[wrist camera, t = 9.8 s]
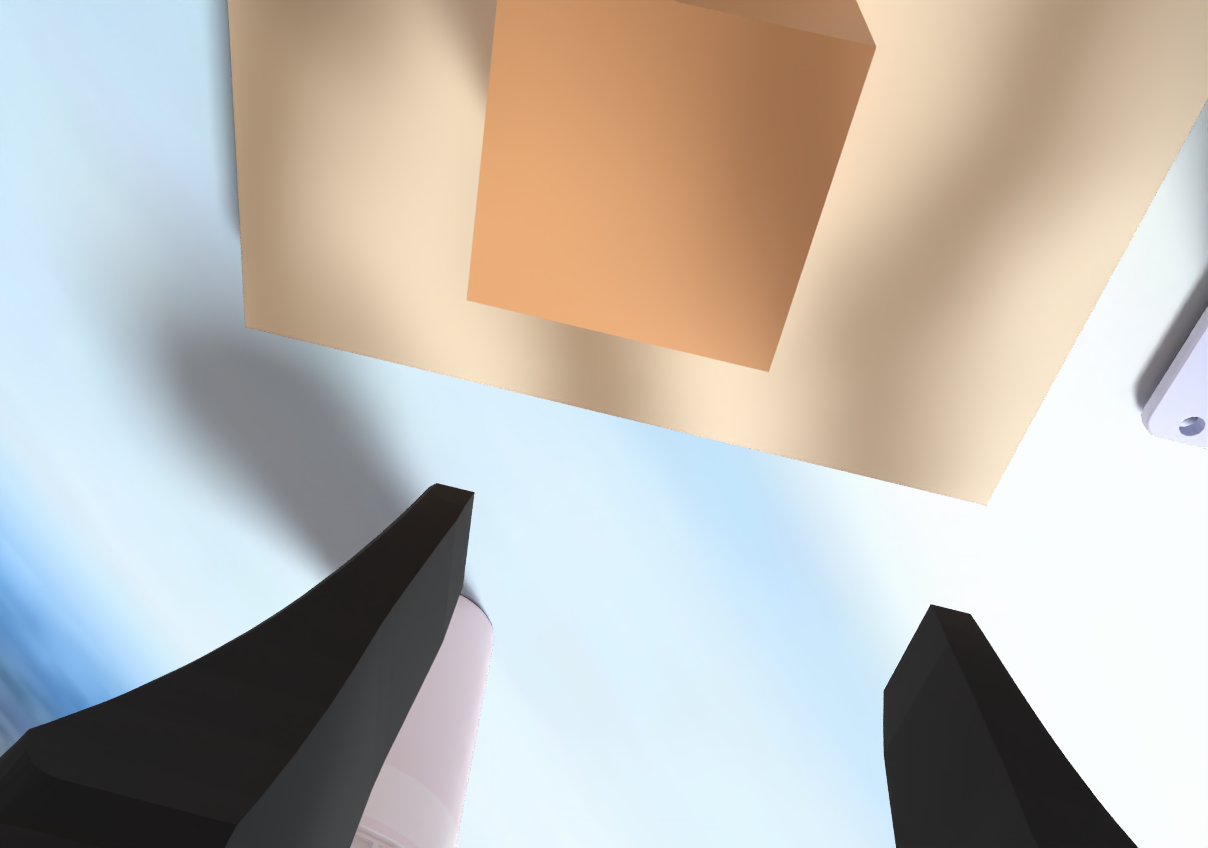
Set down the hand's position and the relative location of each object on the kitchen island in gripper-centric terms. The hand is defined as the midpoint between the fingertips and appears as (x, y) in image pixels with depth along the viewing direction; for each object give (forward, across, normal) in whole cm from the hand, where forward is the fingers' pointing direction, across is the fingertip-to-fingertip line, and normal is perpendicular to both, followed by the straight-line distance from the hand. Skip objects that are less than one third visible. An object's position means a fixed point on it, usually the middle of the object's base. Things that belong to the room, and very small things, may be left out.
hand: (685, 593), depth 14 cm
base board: (+9, +2, -5) cm, 11 cm away
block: (+7, +2, -5) cm, 9 cm away
